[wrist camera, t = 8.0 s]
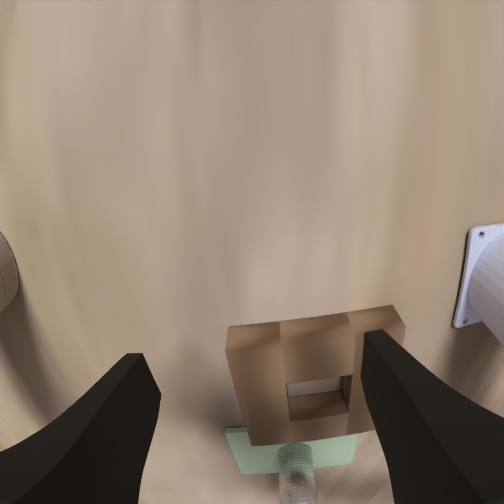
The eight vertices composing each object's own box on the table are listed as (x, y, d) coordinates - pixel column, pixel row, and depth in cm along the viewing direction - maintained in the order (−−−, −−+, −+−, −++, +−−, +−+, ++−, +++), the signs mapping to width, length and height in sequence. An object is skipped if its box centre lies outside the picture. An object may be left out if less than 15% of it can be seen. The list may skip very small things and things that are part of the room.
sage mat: (359, 413, 24) (361, 418, 24) (351, 458, 28) (352, 462, 27) (225, 427, 25) (224, 433, 25) (241, 470, 29) (241, 474, 28)
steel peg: (307, 439, 25) (316, 525, 17) (314, 454, 26) (322, 532, 18) (274, 446, 25) (275, 530, 17) (282, 460, 27) (285, 537, 18)
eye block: (392, 304, 20) (405, 326, 17) (376, 406, 24) (383, 427, 22) (228, 326, 20) (225, 351, 18) (252, 423, 25) (251, 446, 22)
